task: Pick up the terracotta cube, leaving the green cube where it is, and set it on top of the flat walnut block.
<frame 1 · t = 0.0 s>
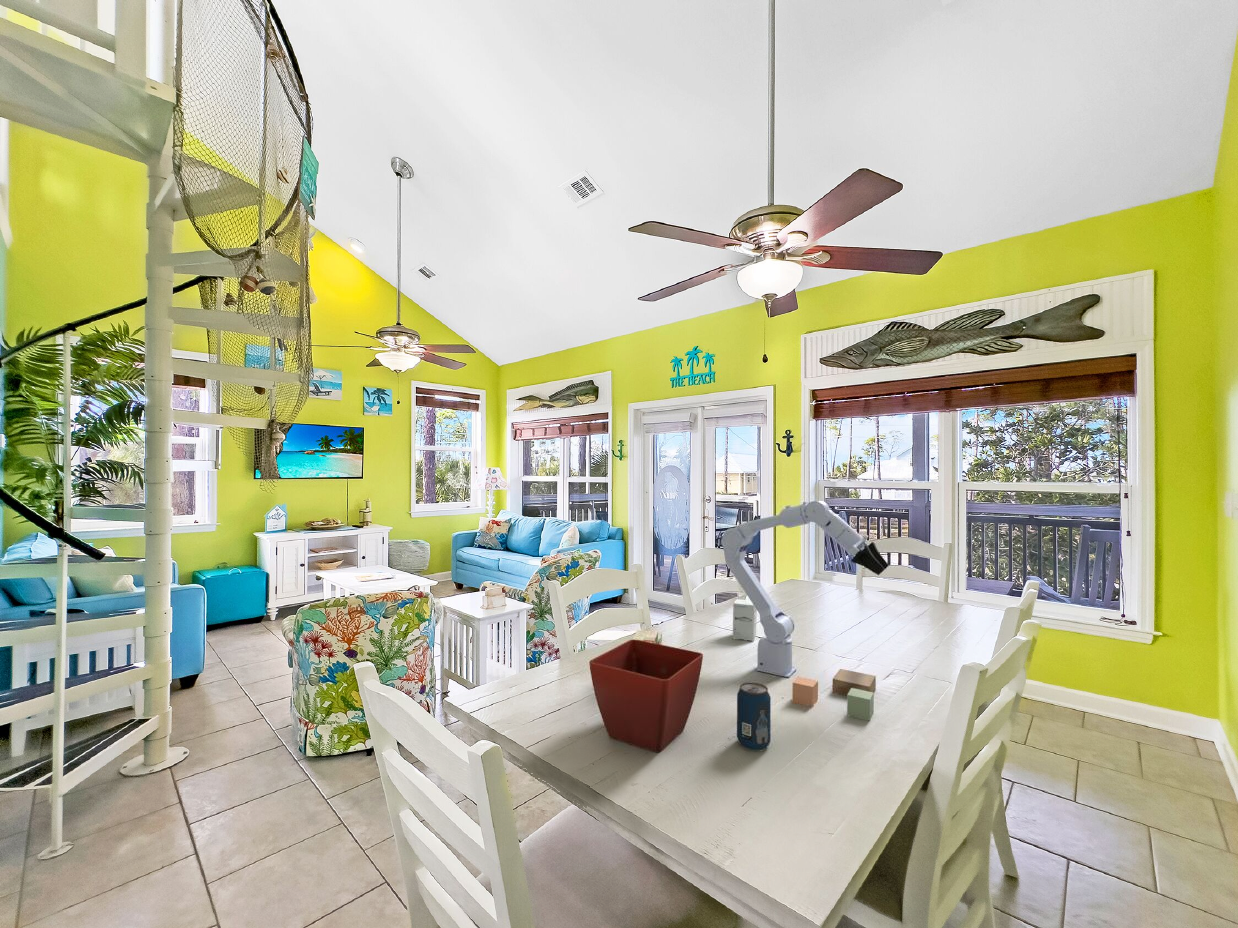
hand: (883, 570, 144), 32 cm above the table, tool tilted 50°, fingers open, 7 cm apart
plant pot: (646, 734, 120), on the table
green cube: (860, 714, 130), on the table
walnut block: (854, 692, 144), on the table
terracotta cube: (805, 701, 138), on the table
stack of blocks: (646, 676, 155), on the table
supplement box: (744, 638, 190), on the table
soda can: (753, 745, 115), on the table
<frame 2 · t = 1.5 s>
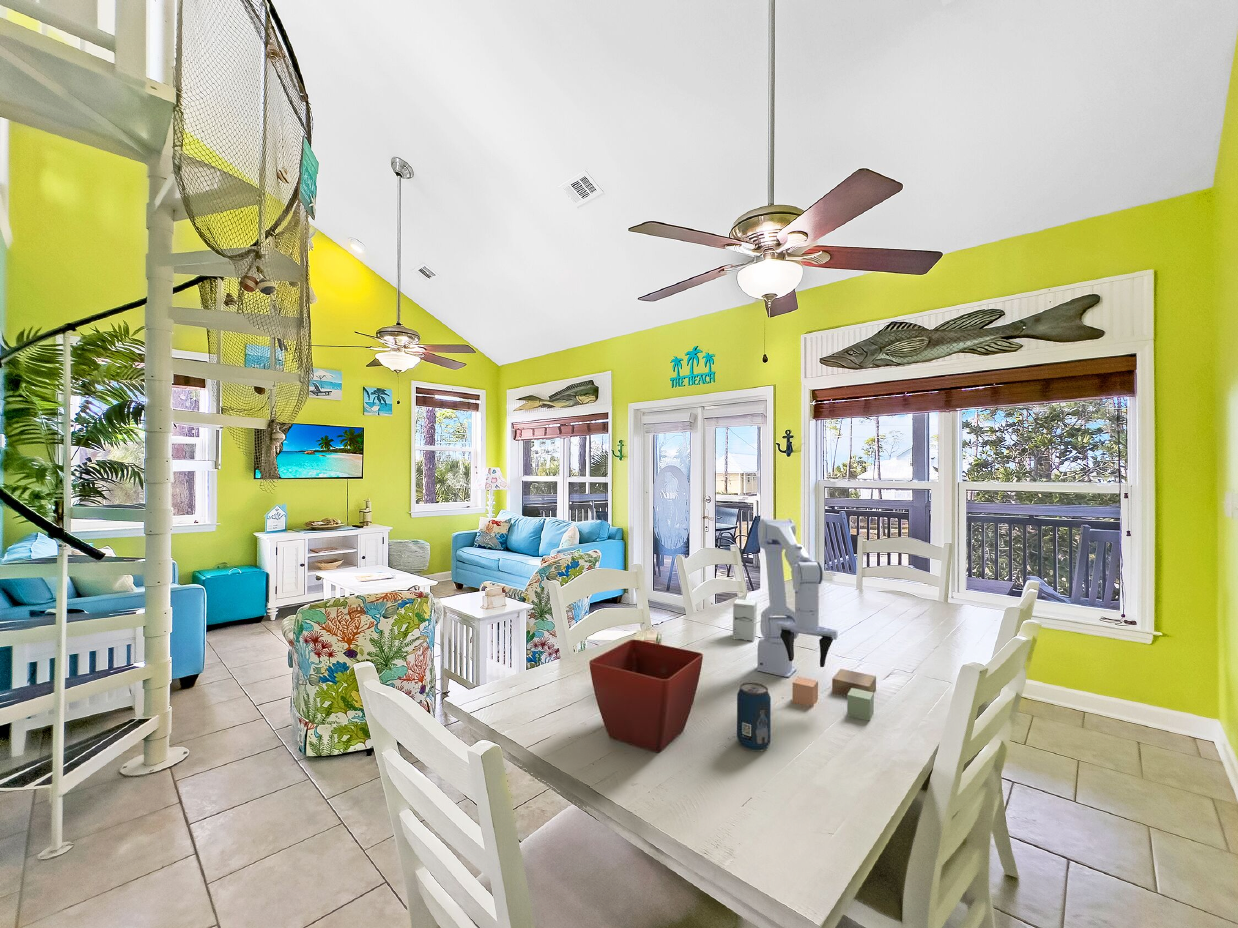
hand: (806, 663, 138), 10 cm above the table, tool pointing down, fingers open, 7 cm apart
nothing on the table moved.
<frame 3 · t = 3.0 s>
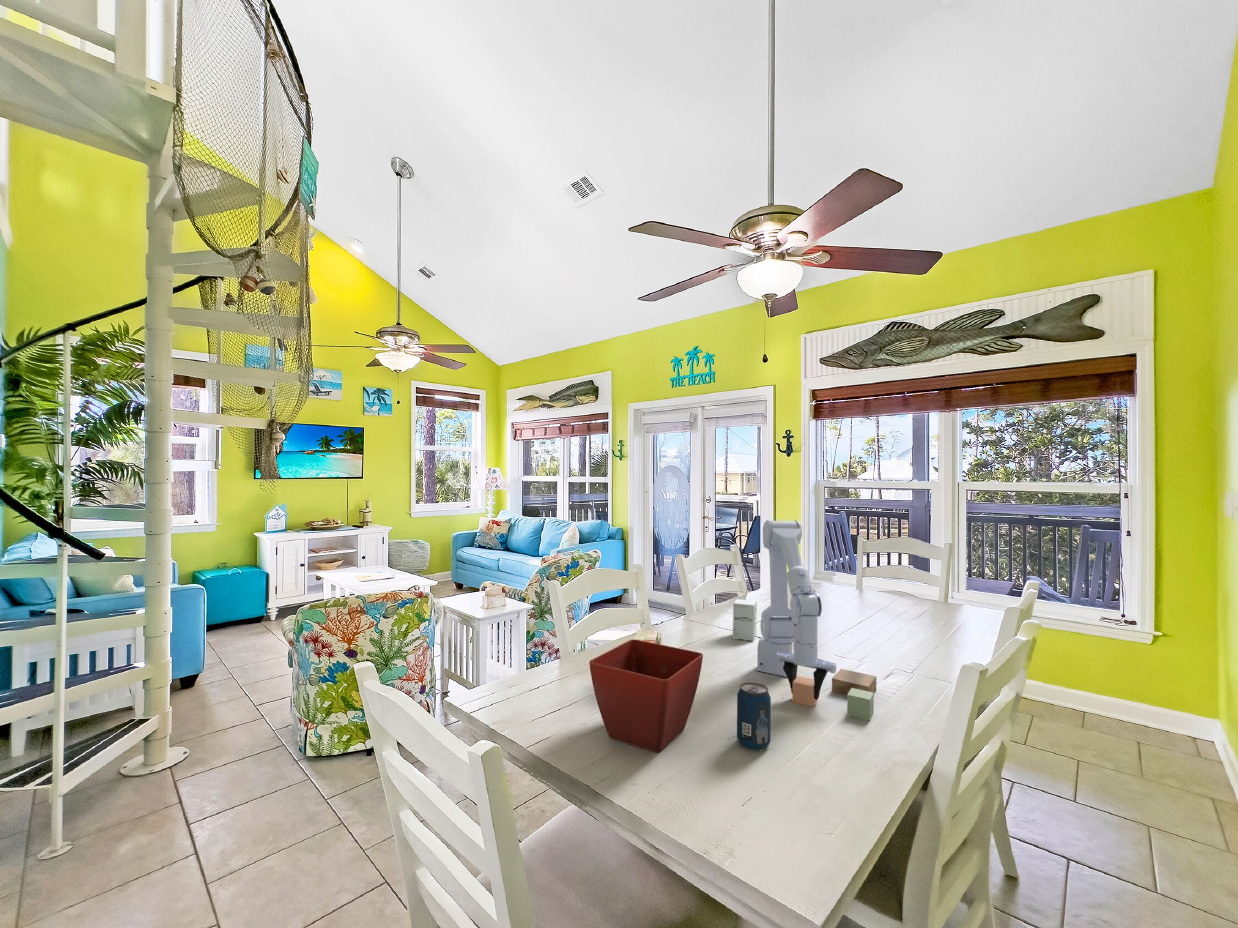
hand: (805, 695, 138), 1 cm above the table, tool pointing down, fingers closed on terracotta cube, 5 cm apart
terracotta cube: (805, 701, 138), on the table, touching gripper
everything else where it was.
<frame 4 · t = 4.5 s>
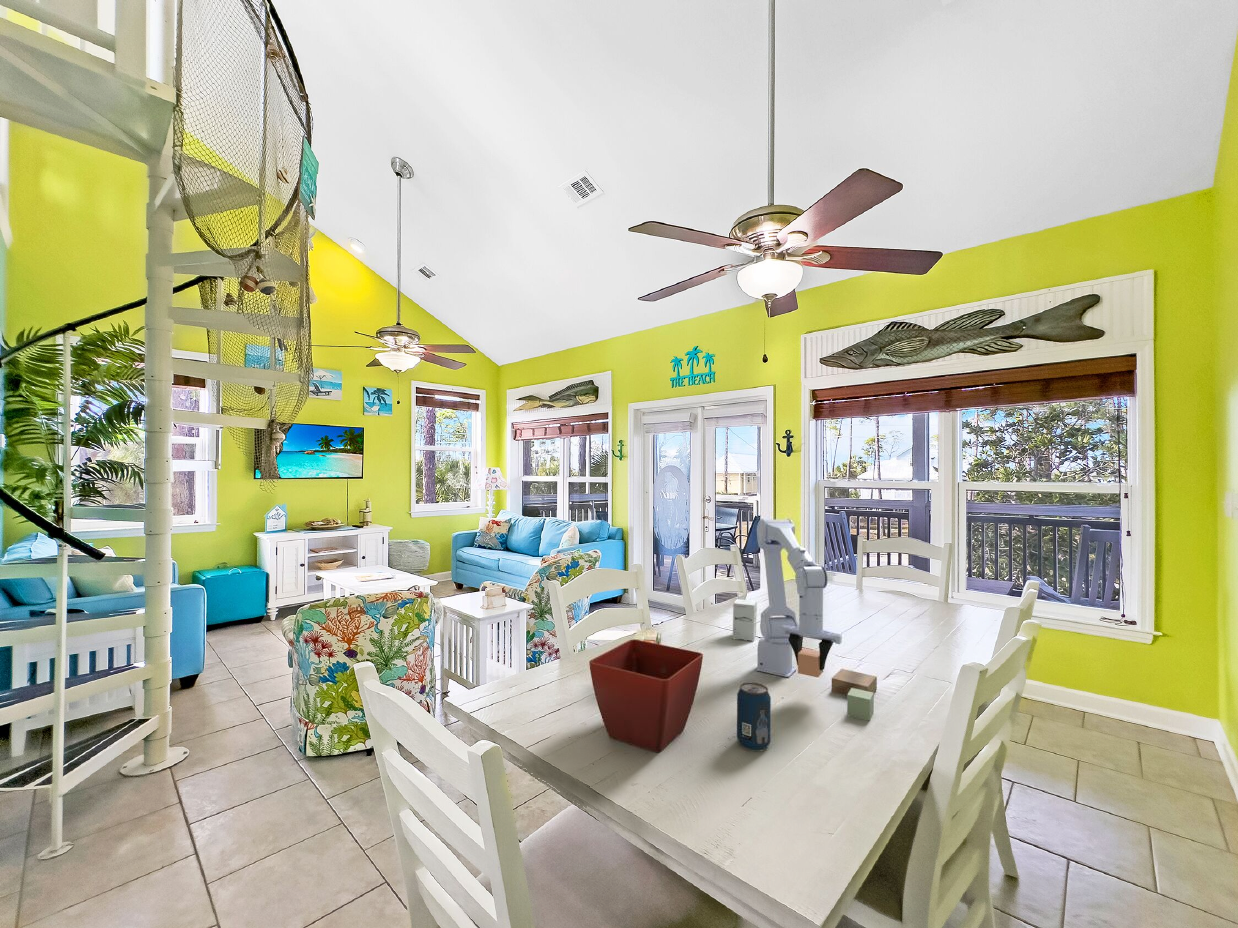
hand: (810, 666, 139), 8 cm above the table, tool pointing down, fingers closed on terracotta cube, 5 cm apart
terracotta cube: (810, 672, 139), point 7 cm above the table, touching gripper
everything else where it was.
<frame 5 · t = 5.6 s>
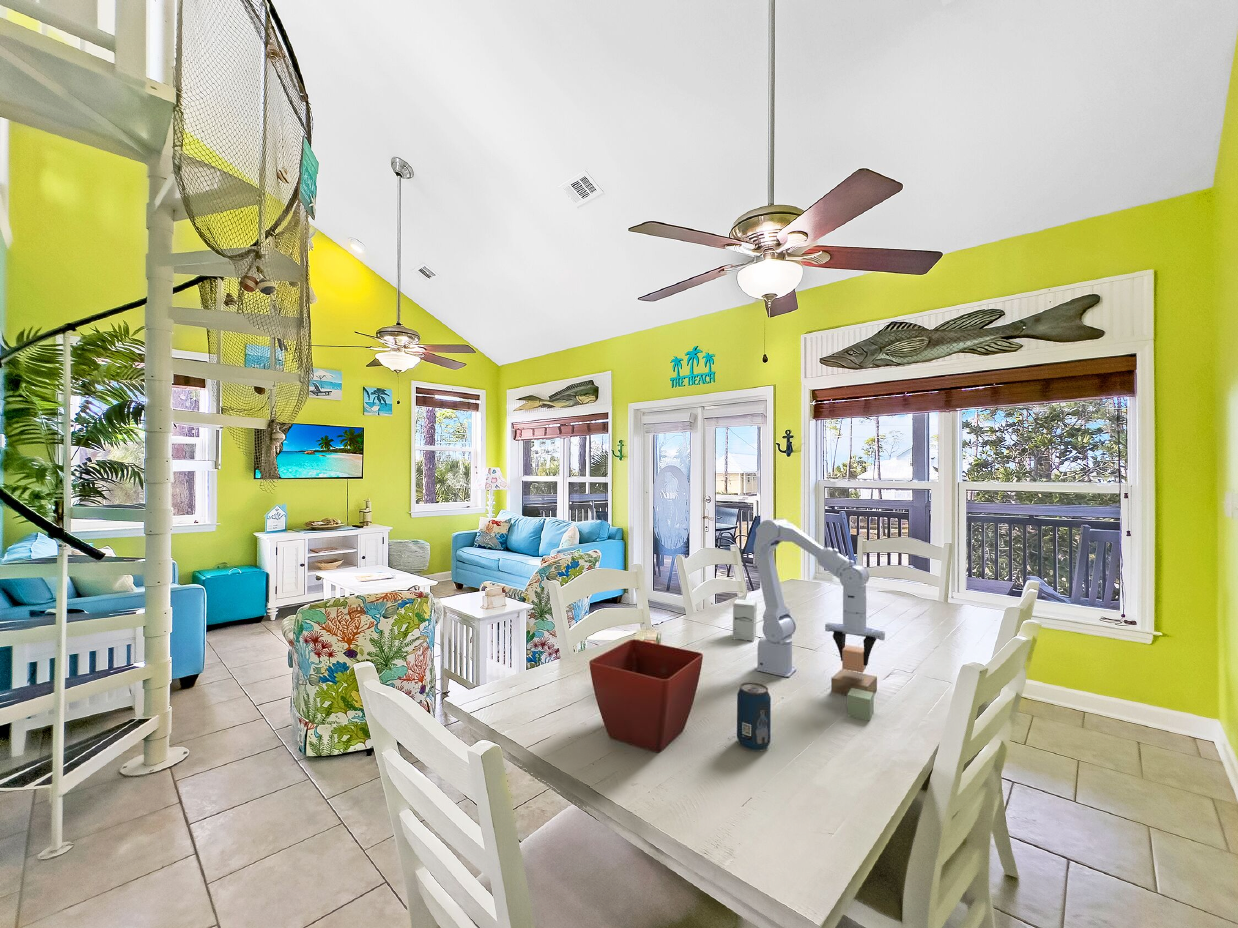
hand: (854, 662, 144), 8 cm above the table, tool pointing down, fingers closed on terracotta cube, 5 cm apart
terracotta cube: (854, 668, 144), point 6 cm above the table, touching gripper
everything else where it was.
when the fingers open (6 cm above the table, at t = 6.3 s): terracotta cube drops 1 cm, resting on walnut block.
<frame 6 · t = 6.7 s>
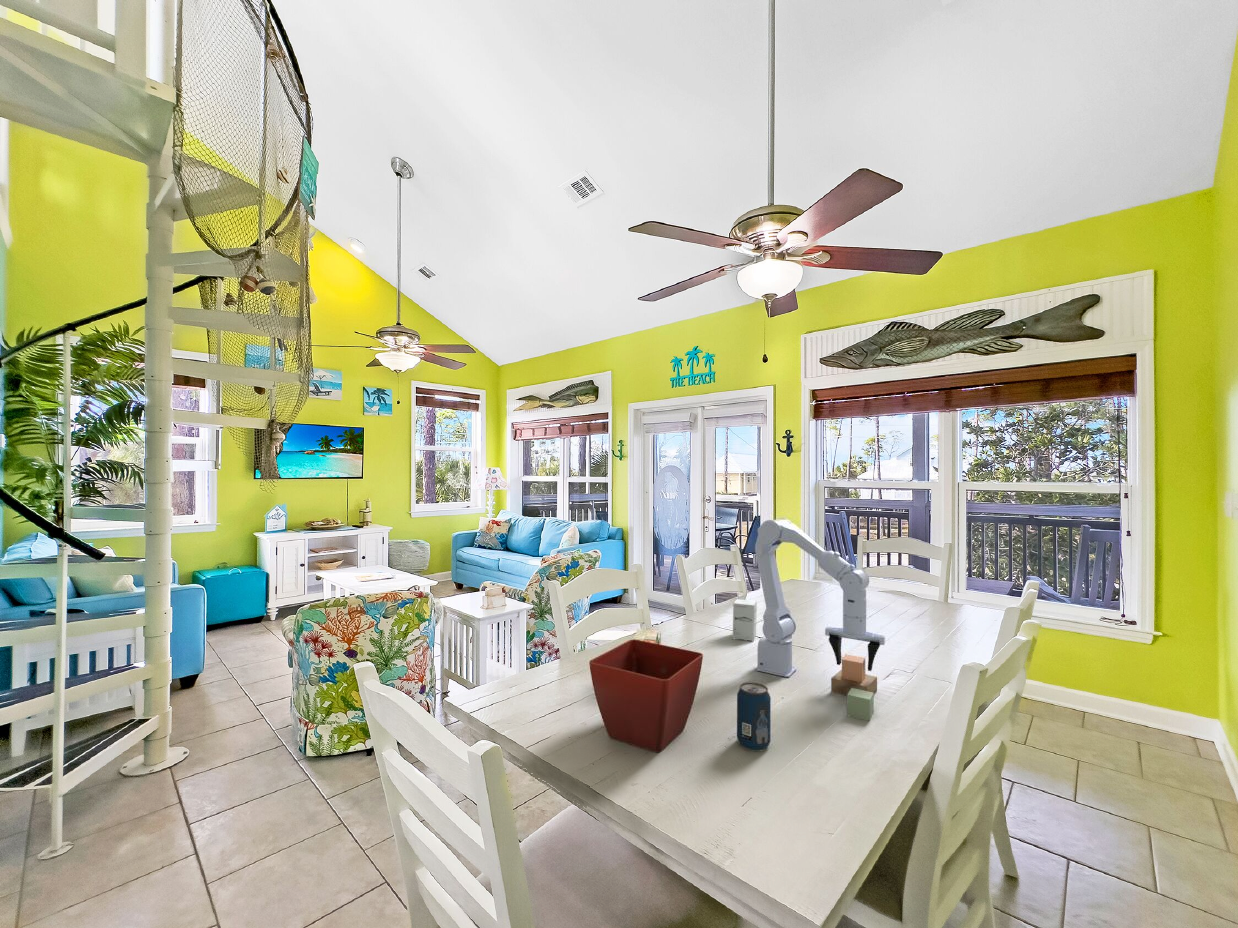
hand: (854, 666, 144), 6 cm above the table, tool pointing down, fingers open, 7 cm apart
walnut block: (854, 692, 144), on the table, touching terracotta cube
terracotta cube: (853, 677, 144), point 4 cm above the table, touching walnut block
everything else where it was.
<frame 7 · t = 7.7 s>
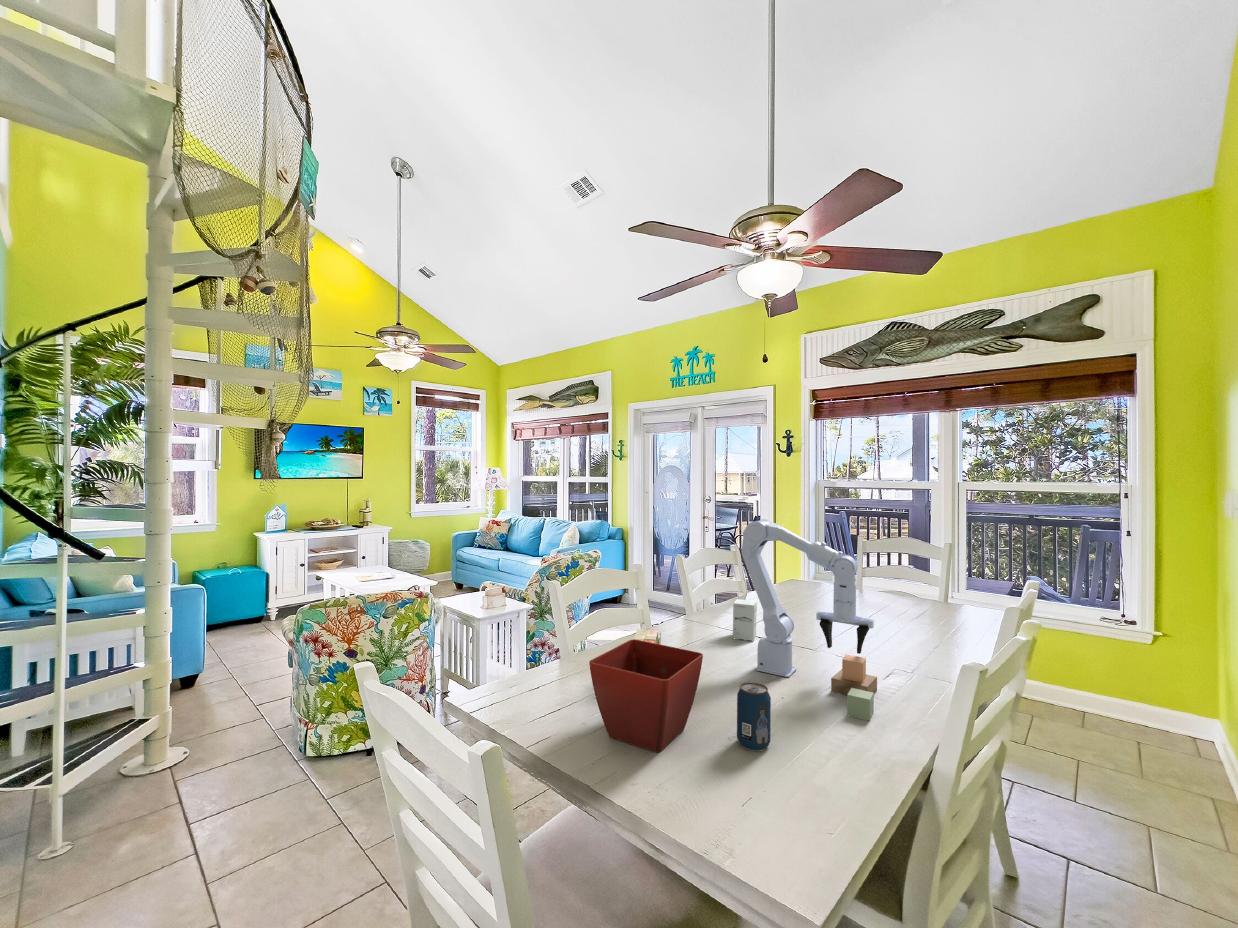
hand: (844, 649, 149), 9 cm above the table, tool pointing down, fingers open, 7 cm apart
walnut block: (854, 692, 144), on the table
terracotta cube: (854, 677, 144), point 4 cm above the table
everything else where it was.
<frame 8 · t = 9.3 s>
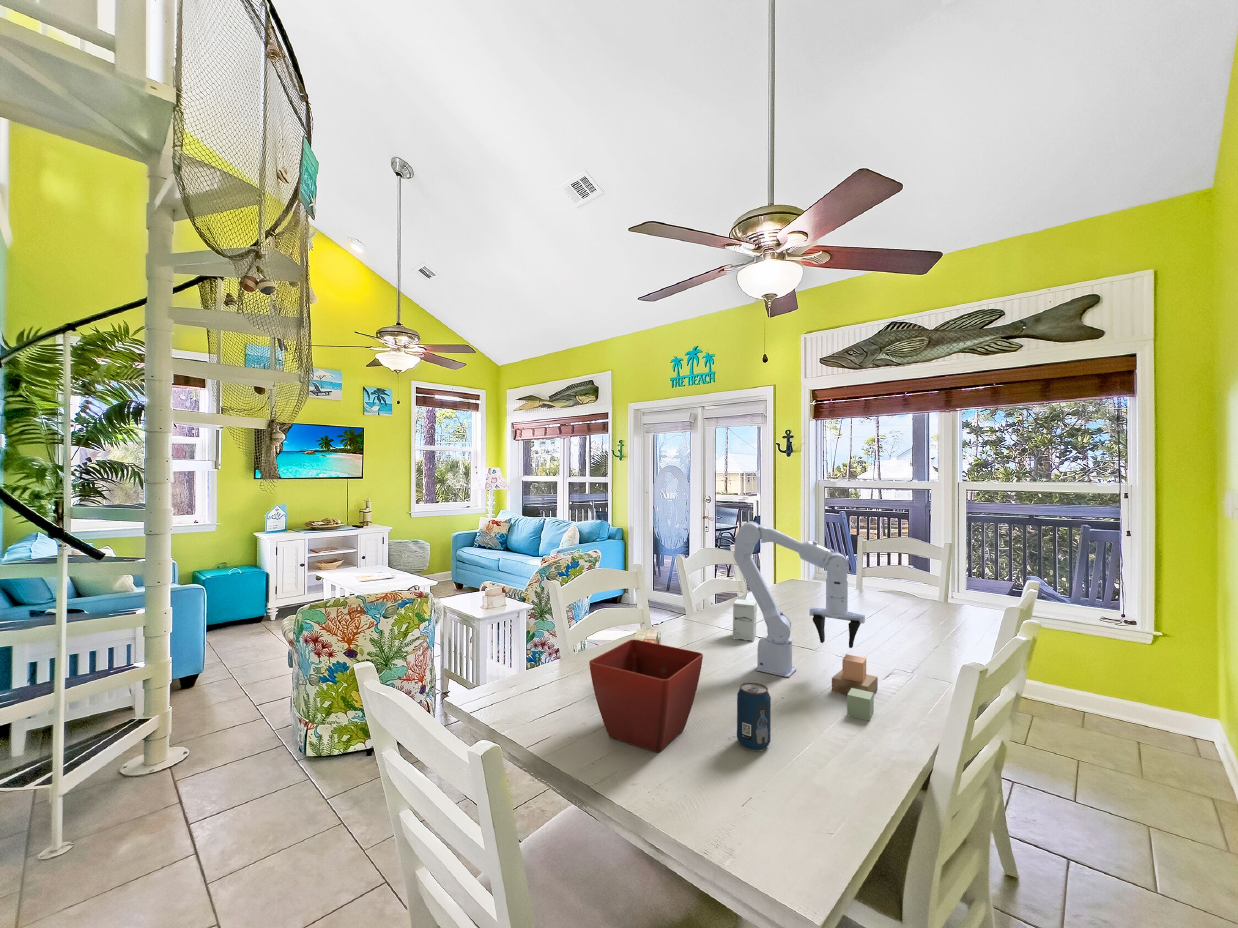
hand: (836, 644, 154), 9 cm above the table, tool pointing down, fingers open, 7 cm apart
at the end: terracotta cube 0.3 cm off-centre on the walnut block, point 4.0 cm above the walnut block's base; terracotta cube tilted 0°; the gripper is holding nothing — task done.
